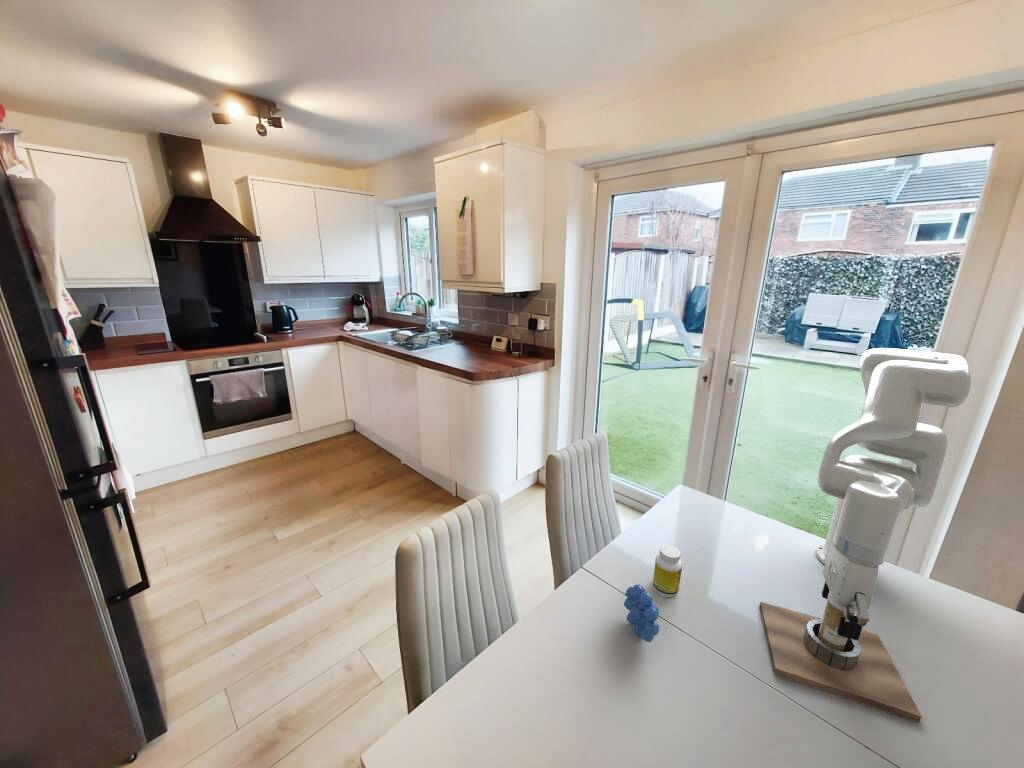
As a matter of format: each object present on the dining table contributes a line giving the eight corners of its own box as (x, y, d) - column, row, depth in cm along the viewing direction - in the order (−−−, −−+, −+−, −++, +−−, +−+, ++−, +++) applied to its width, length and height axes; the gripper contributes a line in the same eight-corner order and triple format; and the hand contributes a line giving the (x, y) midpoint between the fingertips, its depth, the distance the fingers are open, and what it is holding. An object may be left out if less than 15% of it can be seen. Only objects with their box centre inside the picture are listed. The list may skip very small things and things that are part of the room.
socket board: (759, 606, 94) (760, 601, 94) (876, 639, 86) (877, 634, 85) (774, 673, 78) (775, 668, 78) (919, 722, 70) (921, 716, 69)
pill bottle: (680, 600, 96) (686, 561, 93) (654, 595, 97) (659, 557, 94) (675, 581, 102) (681, 544, 99) (650, 577, 103) (655, 541, 100)
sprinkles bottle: (827, 659, 80) (843, 605, 76) (809, 639, 84) (823, 587, 80) (848, 658, 80) (865, 604, 76) (829, 638, 84) (844, 586, 81)
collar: (799, 626, 87) (802, 614, 86) (847, 640, 84) (851, 627, 83) (809, 660, 79) (813, 646, 78) (863, 677, 76) (867, 663, 75)
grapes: (671, 654, 82) (678, 608, 79) (641, 660, 81) (647, 613, 77) (642, 609, 93) (647, 567, 90) (616, 614, 92) (620, 571, 88)
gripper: (821, 515, 84) (805, 581, 89) (851, 570, 69) (829, 646, 73) (865, 524, 81) (846, 591, 86) (907, 583, 66) (880, 661, 71)
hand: (838, 616), depth 80 cm, fingers open, 9 cm apart
